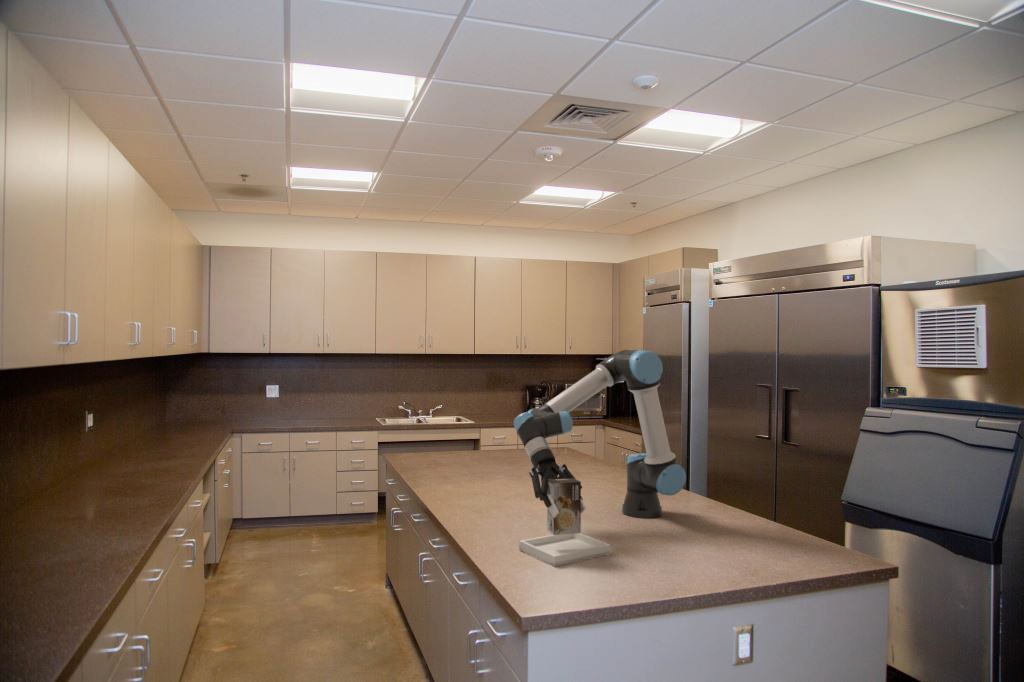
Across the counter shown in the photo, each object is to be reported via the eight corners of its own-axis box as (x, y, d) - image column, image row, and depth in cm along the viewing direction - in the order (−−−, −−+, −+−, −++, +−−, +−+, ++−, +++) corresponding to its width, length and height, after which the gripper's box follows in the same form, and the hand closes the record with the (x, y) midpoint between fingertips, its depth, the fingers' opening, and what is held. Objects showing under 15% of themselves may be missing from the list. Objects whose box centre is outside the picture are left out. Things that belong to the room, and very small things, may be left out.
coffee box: (573, 528, 209) (574, 477, 209) (581, 533, 203) (582, 481, 203) (546, 529, 206) (547, 478, 206) (552, 535, 200) (553, 482, 200)
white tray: (519, 550, 206) (519, 540, 206) (573, 539, 218) (573, 530, 218) (554, 567, 191) (554, 556, 191) (610, 554, 203) (610, 544, 203)
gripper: (562, 458, 224) (591, 515, 210) (507, 464, 211) (535, 524, 198) (572, 445, 219) (603, 501, 206) (516, 449, 207) (546, 510, 193)
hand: (569, 513), depth 202 cm, fingers closed on coffee box, 10 cm apart
